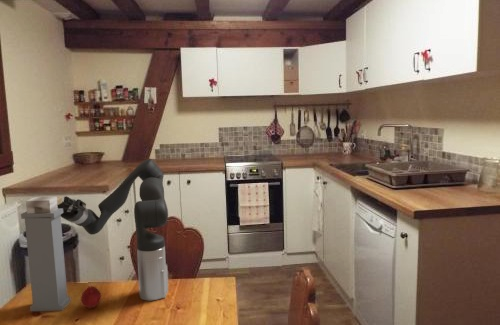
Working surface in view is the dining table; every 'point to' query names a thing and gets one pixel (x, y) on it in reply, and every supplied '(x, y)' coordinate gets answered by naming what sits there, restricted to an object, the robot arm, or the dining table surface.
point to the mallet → (43, 204)
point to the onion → (91, 297)
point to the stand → (46, 260)
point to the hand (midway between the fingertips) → (53, 199)
